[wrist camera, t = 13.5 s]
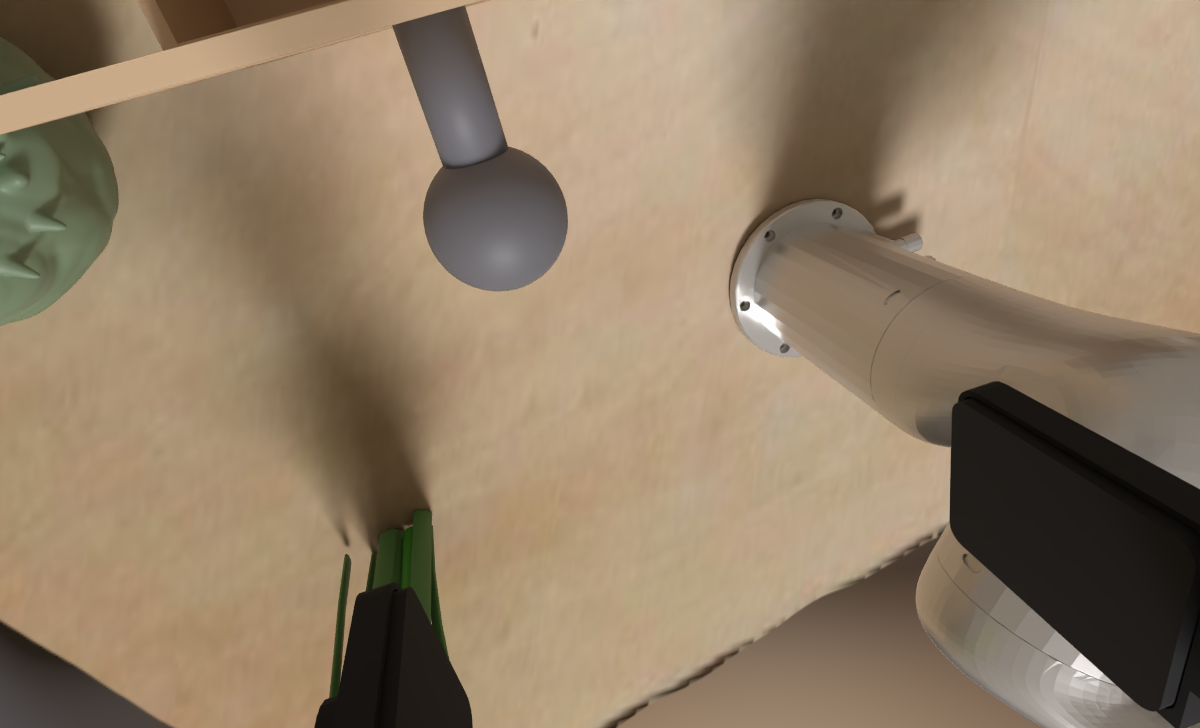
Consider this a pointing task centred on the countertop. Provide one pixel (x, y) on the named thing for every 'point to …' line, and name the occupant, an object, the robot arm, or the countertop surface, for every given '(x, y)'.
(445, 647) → the daffodil flowers
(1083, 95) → the countertop surface
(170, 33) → the carton
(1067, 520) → the robot arm
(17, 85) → the green lumpy rounded blob
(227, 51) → the lid
